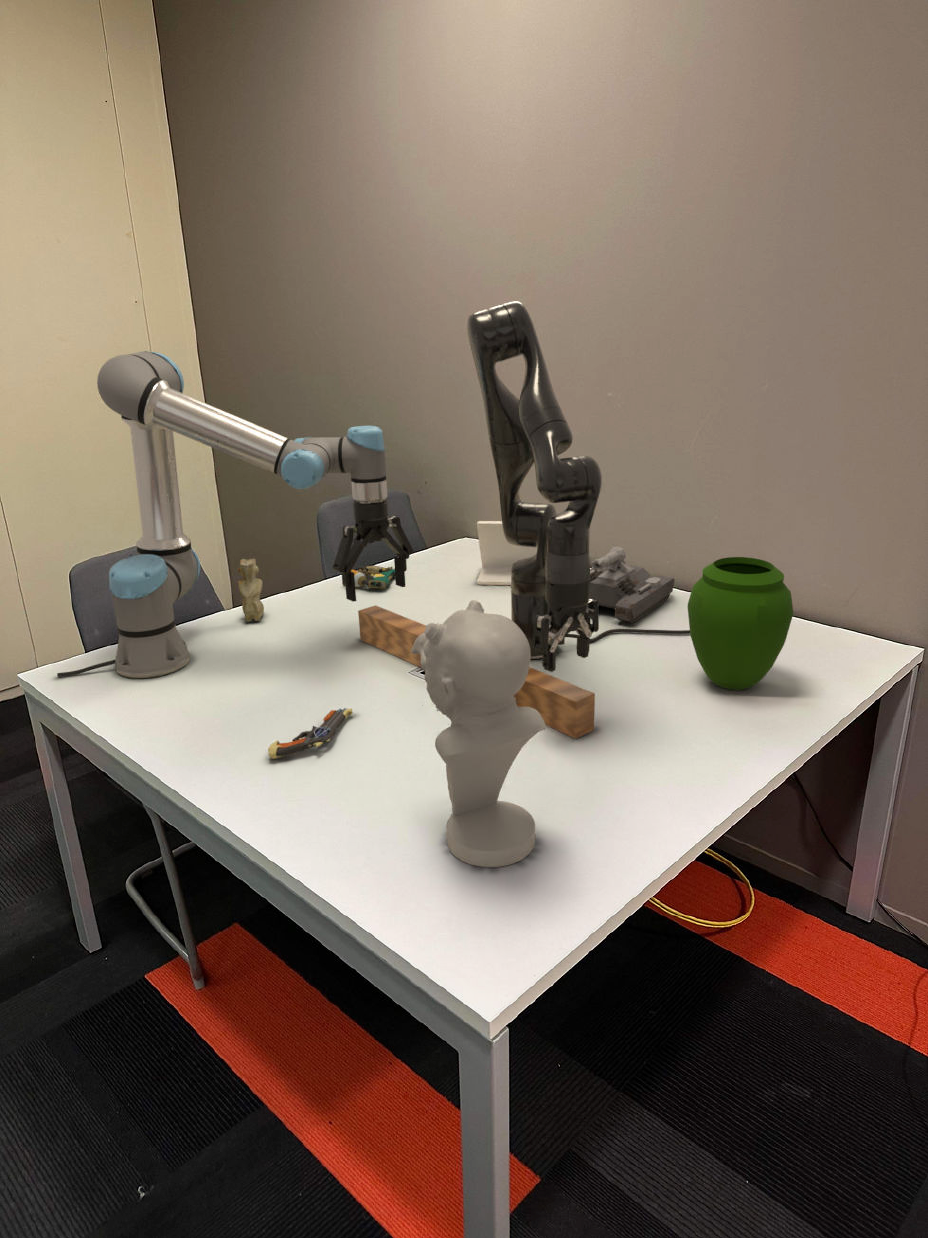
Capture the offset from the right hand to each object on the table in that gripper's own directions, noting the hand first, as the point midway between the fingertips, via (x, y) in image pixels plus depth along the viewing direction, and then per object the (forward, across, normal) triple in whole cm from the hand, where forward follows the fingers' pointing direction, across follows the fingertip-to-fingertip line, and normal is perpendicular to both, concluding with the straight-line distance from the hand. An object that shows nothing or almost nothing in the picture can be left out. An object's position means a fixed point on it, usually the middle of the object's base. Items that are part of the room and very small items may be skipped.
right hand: (566, 663), depth 151 cm
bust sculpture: (+13, +34, +13) cm, 39 cm away
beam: (+12, 0, -29) cm, 31 cm away
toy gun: (+13, +36, -29) cm, 47 cm away
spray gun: (+12, -25, -94) cm, 98 cm away
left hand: (0, 0, -57) cm, 57 cm away
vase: (+12, -37, +11) cm, 41 cm away
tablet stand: (+12, -58, -69) cm, 91 cm away
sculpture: (+12, +14, -92) cm, 94 cm away
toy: (+12, -57, -35) cm, 68 cm away
